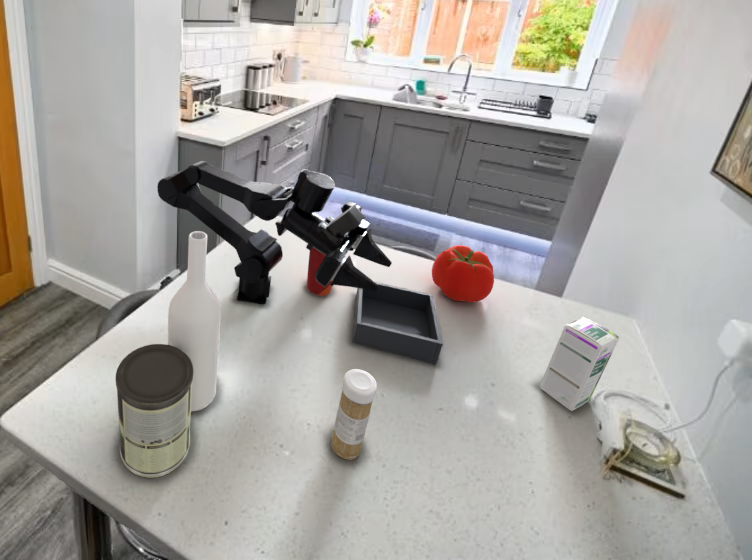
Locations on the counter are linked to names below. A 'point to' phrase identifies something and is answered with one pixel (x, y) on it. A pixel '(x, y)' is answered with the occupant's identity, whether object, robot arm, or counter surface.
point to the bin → (398, 322)
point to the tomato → (463, 274)
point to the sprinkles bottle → (353, 413)
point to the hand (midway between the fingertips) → (384, 276)
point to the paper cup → (313, 265)
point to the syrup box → (578, 362)
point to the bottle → (197, 323)
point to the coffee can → (154, 409)
